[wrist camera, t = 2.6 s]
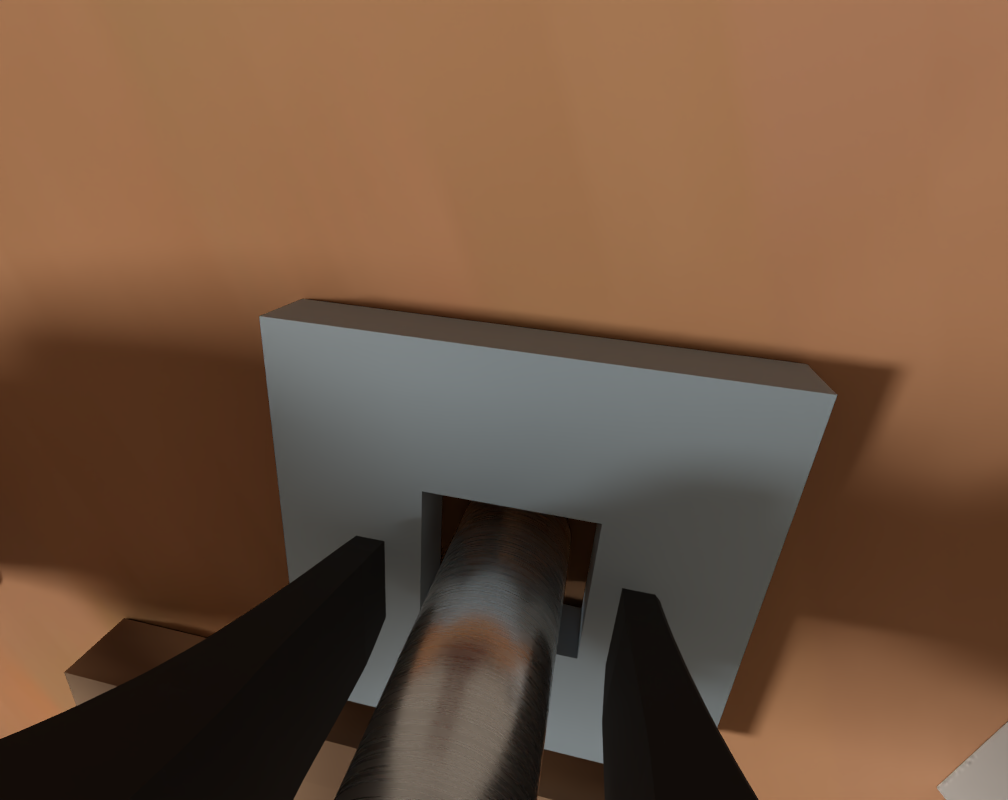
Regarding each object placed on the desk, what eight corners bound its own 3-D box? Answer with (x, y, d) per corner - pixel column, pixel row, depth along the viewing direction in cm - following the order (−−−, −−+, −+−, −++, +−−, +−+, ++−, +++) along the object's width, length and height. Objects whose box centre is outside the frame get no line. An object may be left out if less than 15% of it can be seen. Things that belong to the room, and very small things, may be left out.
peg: (459, 566, 13) (314, 925, 7) (464, 477, 12) (298, 805, 6) (563, 587, 13) (510, 987, 7) (577, 497, 12) (531, 871, 5)
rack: (169, 777, 20) (125, 837, 18) (124, 618, 17) (64, 672, 15) (598, 899, 18) (596, 982, 16) (642, 742, 14) (645, 824, 13)
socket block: (329, 643, 15) (301, 688, 14) (302, 298, 11) (258, 315, 10) (688, 726, 14) (695, 786, 12) (806, 363, 10) (837, 394, 8)
